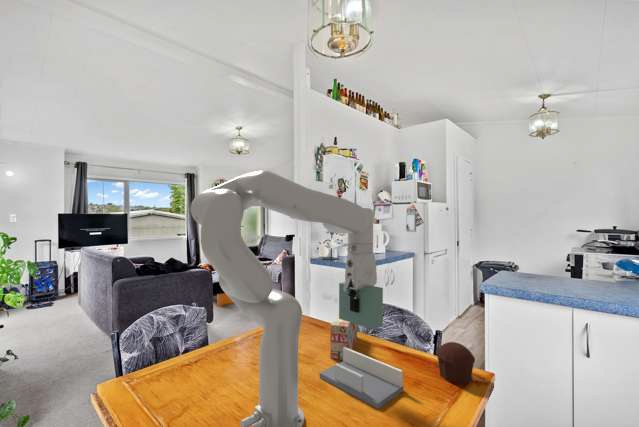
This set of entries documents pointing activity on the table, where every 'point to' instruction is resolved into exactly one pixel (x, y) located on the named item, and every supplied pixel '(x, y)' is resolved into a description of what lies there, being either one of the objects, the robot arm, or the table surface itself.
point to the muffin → (455, 363)
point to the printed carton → (342, 337)
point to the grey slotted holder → (365, 378)
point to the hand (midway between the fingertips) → (360, 309)
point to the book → (363, 307)
